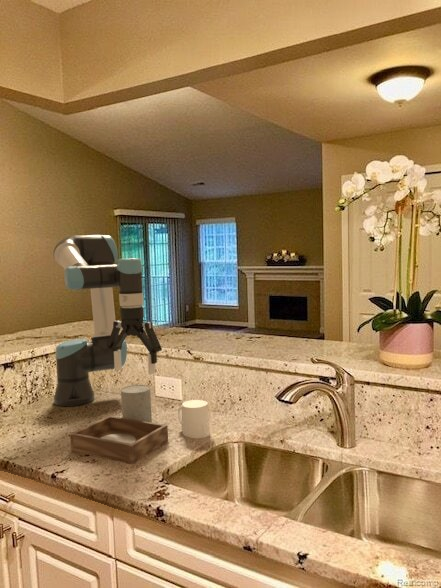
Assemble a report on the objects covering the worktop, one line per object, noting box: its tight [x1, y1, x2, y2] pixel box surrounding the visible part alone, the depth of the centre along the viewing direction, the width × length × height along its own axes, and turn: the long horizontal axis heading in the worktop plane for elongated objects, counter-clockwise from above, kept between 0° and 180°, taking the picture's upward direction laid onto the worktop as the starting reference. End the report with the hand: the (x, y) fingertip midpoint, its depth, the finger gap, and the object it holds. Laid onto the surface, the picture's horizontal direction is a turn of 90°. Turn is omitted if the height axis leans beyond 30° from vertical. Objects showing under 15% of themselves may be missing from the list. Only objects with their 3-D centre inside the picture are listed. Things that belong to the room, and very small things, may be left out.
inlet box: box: [69, 415, 169, 465], centre depth 144 cm, size 17×22×5 cm
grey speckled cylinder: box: [120, 384, 153, 423], centre depth 161 cm, size 10×10×12 cm
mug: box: [177, 399, 211, 439], centre depth 153 cm, size 12×9×8 cm
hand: (134, 371), depth 160 cm, fingers open, 13 cm apart
